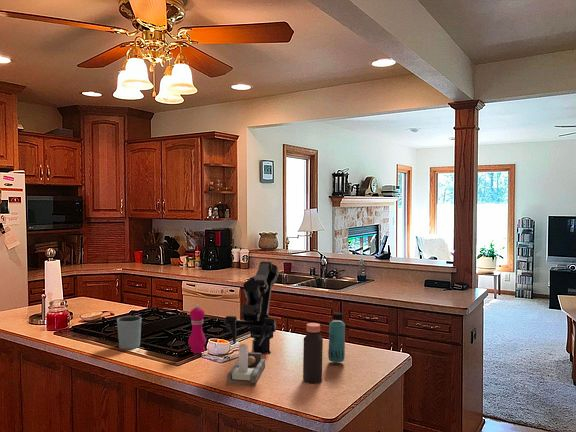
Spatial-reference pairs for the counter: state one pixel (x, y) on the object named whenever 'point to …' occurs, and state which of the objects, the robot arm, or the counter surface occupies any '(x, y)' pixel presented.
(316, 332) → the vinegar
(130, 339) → the drinking glass
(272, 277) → the robot arm
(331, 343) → the beverage bottle
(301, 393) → the counter surface
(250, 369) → the press jaw
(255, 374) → the base plate with post
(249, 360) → the walnut
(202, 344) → the pepper mill
